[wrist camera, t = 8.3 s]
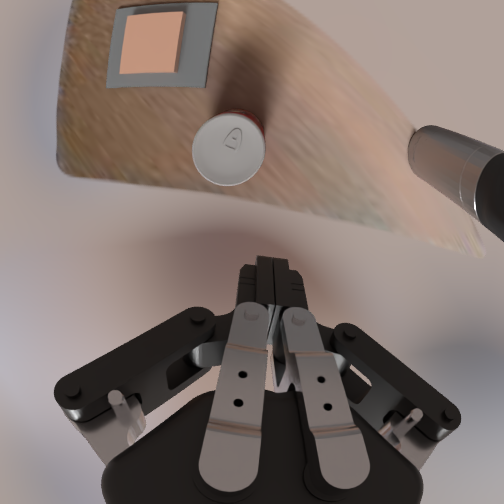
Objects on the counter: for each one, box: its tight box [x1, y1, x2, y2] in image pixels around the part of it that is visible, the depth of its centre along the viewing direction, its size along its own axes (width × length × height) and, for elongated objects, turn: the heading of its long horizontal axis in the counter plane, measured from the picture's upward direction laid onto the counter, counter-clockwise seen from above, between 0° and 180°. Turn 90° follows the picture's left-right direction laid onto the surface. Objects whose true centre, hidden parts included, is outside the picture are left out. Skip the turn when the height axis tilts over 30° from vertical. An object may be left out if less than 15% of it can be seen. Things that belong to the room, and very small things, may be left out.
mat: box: [106, 3, 218, 88], centre depth 31 cm, size 15×13×1 cm
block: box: [119, 12, 186, 74], centre depth 30 cm, size 2×9×8 cm
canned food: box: [192, 109, 265, 186], centre depth 33 cm, size 8×8×11 cm
